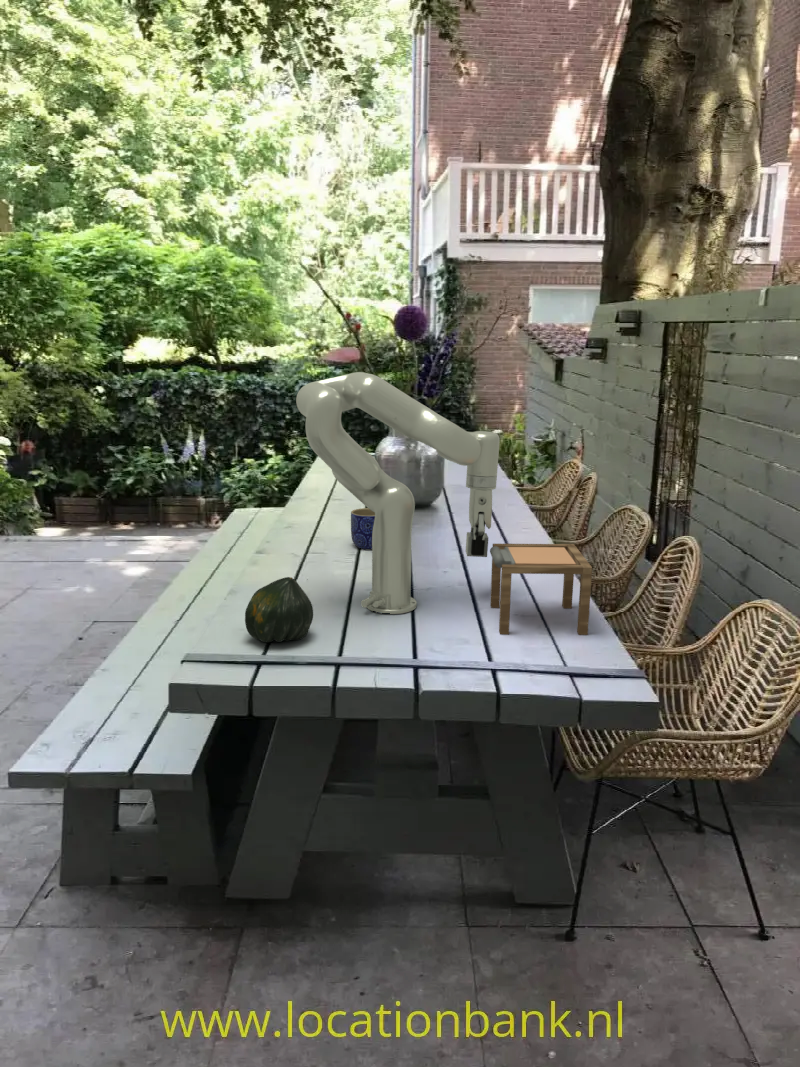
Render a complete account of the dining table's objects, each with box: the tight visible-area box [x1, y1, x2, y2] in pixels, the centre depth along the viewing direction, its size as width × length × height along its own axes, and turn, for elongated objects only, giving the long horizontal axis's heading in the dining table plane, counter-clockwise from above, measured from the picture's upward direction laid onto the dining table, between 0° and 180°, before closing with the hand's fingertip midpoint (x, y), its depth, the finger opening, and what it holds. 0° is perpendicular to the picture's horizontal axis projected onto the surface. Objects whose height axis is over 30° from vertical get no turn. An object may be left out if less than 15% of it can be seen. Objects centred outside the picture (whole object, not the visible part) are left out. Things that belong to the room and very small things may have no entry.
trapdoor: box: [489, 546, 576, 569], centre depth 203 cm, size 14×18×2 cm
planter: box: [350, 507, 375, 550], centre depth 267 cm, size 11×11×11 cm
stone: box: [465, 531, 489, 558], centre depth 219 cm, size 5×5×5 cm
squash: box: [244, 576, 314, 643], centre depth 192 cm, size 14×15×15 cm
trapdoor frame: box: [490, 543, 593, 636], centre depth 205 cm, size 20×20×16 cm
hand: (476, 551), depth 219 cm, fingers closed on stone, 5 cm apart
